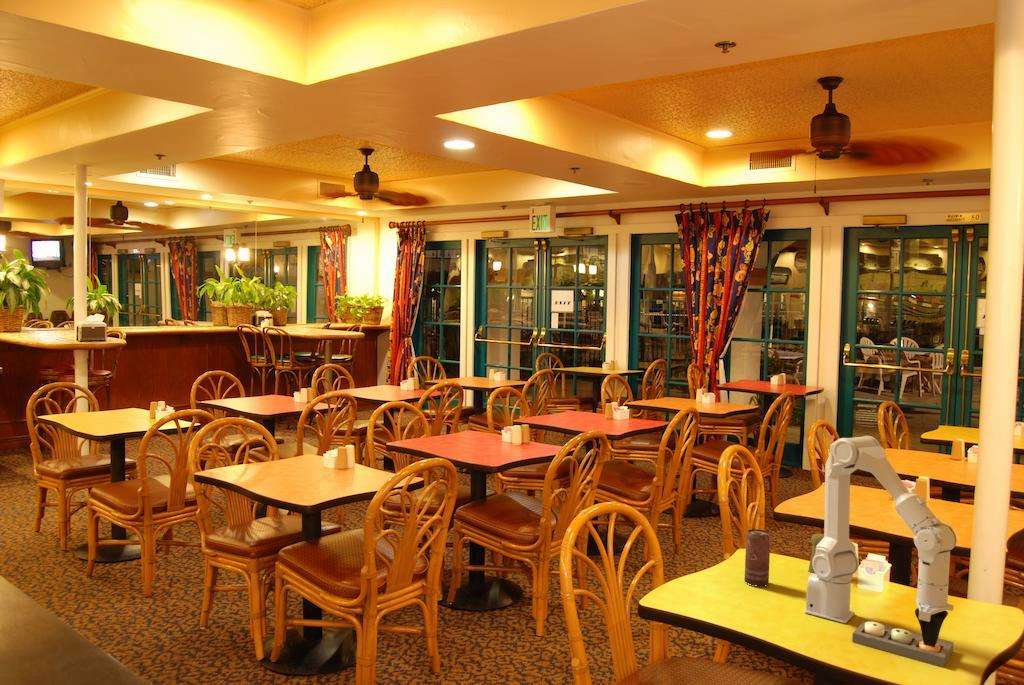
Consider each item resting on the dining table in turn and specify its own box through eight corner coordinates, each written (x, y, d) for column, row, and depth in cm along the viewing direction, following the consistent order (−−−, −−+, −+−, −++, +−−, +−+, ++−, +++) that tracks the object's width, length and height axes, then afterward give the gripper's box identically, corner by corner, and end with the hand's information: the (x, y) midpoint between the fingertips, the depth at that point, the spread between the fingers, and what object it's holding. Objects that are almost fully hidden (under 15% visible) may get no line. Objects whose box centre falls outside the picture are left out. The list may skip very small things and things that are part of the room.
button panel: (852, 641, 172) (852, 633, 171) (864, 627, 179) (865, 619, 179) (943, 667, 160) (944, 657, 160) (953, 651, 168) (953, 642, 168)
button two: (889, 642, 169) (889, 631, 168) (893, 636, 172) (894, 626, 172) (909, 647, 166) (909, 636, 166) (913, 641, 169) (914, 631, 169)
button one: (862, 634, 172) (862, 624, 172) (867, 629, 175) (867, 619, 175) (881, 640, 170) (882, 629, 169) (886, 634, 173) (886, 624, 173)
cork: (833, 578, 212) (835, 538, 212) (810, 576, 214) (811, 536, 213) (829, 571, 218) (830, 532, 218) (806, 569, 219) (808, 530, 219)
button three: (916, 654, 165) (917, 644, 165) (920, 648, 168) (921, 638, 168) (937, 660, 163) (938, 649, 163) (941, 654, 166) (942, 643, 166)
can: (766, 589, 202) (768, 536, 202) (741, 584, 206) (743, 532, 205) (771, 582, 208) (774, 531, 207) (748, 577, 211) (750, 527, 210)
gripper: (947, 595, 157) (944, 661, 157) (960, 577, 168) (957, 638, 168) (909, 586, 161) (906, 651, 162) (924, 569, 172) (921, 629, 173)
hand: (929, 644), depth 165 cm, fingers closed, pressing on button three
